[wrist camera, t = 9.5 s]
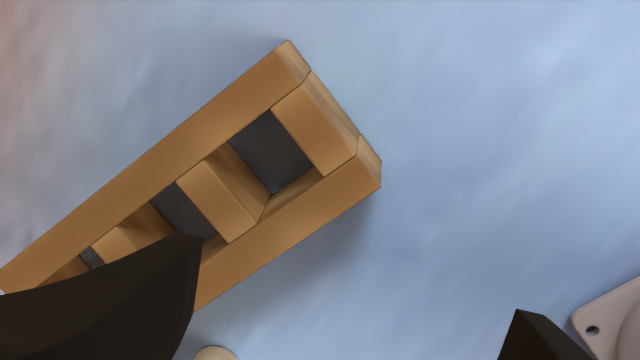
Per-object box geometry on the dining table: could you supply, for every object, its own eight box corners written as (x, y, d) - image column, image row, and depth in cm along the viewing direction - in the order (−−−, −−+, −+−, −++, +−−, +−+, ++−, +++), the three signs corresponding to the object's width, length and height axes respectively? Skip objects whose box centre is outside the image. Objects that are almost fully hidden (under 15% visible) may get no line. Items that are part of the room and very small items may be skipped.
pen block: (382, 160, 23) (381, 187, 20) (122, 338, 27) (91, 381, 24) (289, 38, 22) (274, 49, 19) (32, 244, 26) (-12, 278, 23)
